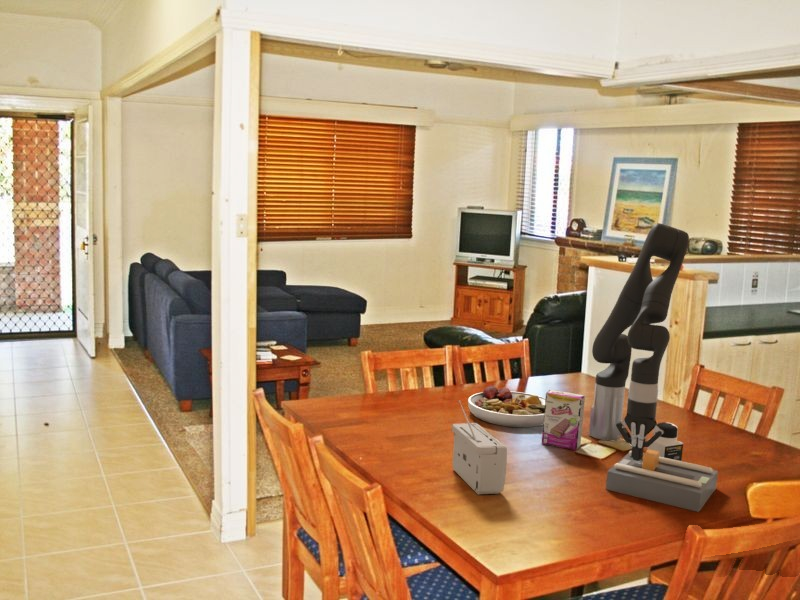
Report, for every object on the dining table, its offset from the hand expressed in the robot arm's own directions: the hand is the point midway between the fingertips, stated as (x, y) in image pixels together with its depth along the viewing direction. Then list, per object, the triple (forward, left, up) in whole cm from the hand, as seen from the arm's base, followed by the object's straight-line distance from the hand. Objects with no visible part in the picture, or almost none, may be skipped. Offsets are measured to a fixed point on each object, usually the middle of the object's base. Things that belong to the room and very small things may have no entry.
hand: (636, 459), depth 232 cm
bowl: (-53, +36, -7) cm, 64 cm away
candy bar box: (-28, +17, -7) cm, 33 cm away
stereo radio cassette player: (-35, -27, -7) cm, 44 cm away
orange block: (+4, 0, -2) cm, 4 cm away
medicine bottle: (+2, +21, -7) cm, 22 cm away
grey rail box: (+7, 0, -7) cm, 10 cm away
